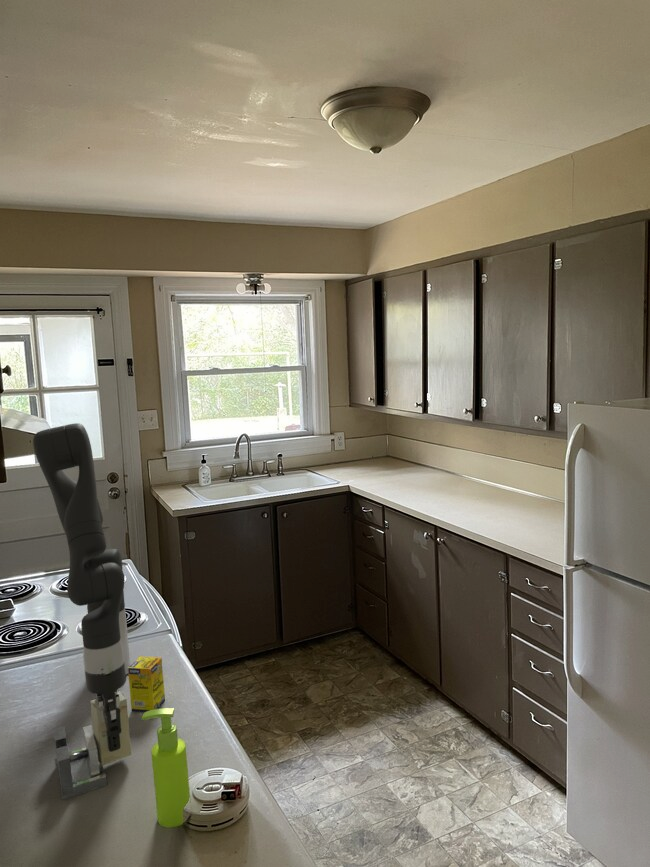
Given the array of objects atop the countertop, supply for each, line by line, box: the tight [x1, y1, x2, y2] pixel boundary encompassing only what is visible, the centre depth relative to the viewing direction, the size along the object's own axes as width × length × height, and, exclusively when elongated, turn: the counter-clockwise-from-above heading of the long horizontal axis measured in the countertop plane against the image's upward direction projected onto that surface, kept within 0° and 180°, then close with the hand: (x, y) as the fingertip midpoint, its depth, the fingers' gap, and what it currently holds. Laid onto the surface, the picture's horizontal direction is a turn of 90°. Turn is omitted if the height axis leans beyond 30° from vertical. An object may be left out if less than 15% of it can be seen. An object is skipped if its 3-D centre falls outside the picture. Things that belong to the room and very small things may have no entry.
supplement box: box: [127, 656, 166, 713], centre depth 151 cm, size 6×6×11 cm
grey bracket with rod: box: [53, 726, 108, 800], centre depth 127 cm, size 12×8×8 cm, turn 27°
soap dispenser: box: [141, 707, 191, 829], centre depth 113 cm, size 6×7×20 cm
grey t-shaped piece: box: [54, 724, 100, 778], centre depth 127 cm, size 10×8×6 cm
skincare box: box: [89, 690, 132, 767], centre depth 129 cm, size 6×4×12 cm
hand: (112, 742), depth 130 cm, fingers closed on skincare box, 4 cm apart
